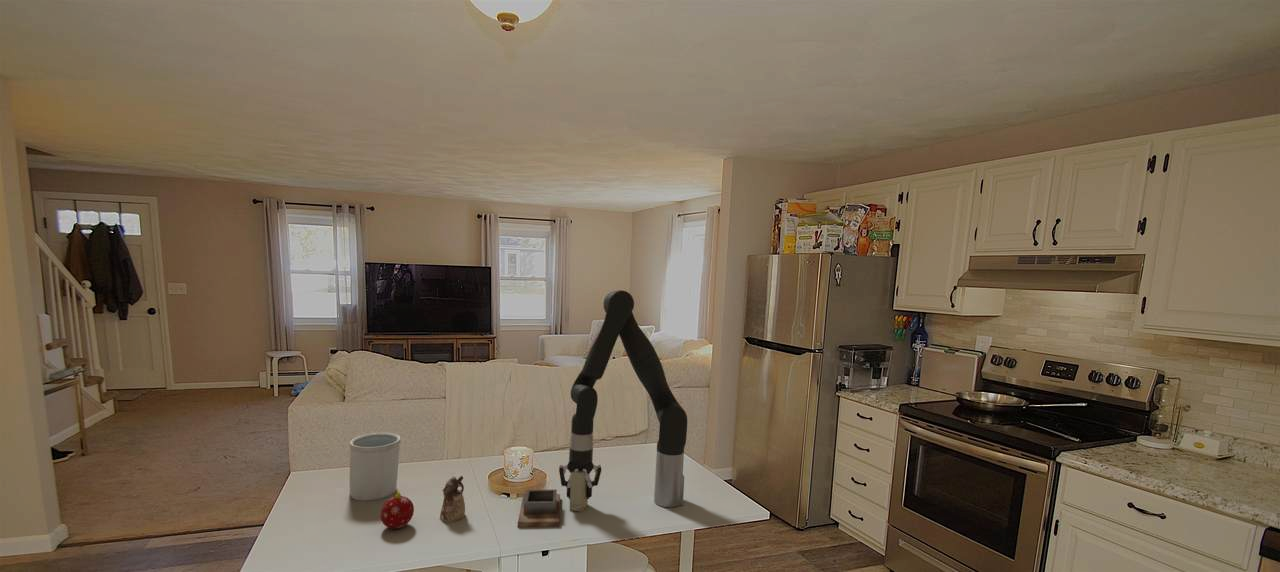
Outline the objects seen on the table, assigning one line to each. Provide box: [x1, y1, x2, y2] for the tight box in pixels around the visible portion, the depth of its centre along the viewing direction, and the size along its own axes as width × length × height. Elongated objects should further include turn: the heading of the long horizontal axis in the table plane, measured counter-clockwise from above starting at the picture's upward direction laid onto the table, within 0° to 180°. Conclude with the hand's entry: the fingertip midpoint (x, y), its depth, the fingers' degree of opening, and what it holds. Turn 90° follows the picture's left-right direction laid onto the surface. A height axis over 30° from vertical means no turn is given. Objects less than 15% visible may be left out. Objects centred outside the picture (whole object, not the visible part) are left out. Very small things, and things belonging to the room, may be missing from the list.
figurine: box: [439, 475, 466, 523], centre depth 152 cm, size 7×7×12 cm
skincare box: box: [569, 471, 589, 512], centre depth 163 cm, size 6×4×12 cm
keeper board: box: [517, 493, 561, 528], centre depth 158 cm, size 12×19×2 cm, turn 8°
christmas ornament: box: [380, 491, 415, 530], centre depth 145 cm, size 9×9×10 cm
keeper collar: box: [523, 489, 558, 515], centre depth 158 cm, size 10×10×4 cm
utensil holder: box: [349, 432, 402, 502], centre depth 166 cm, size 15×15×18 cm
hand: (578, 497), depth 163 cm, fingers closed on skincare box, 5 cm apart
